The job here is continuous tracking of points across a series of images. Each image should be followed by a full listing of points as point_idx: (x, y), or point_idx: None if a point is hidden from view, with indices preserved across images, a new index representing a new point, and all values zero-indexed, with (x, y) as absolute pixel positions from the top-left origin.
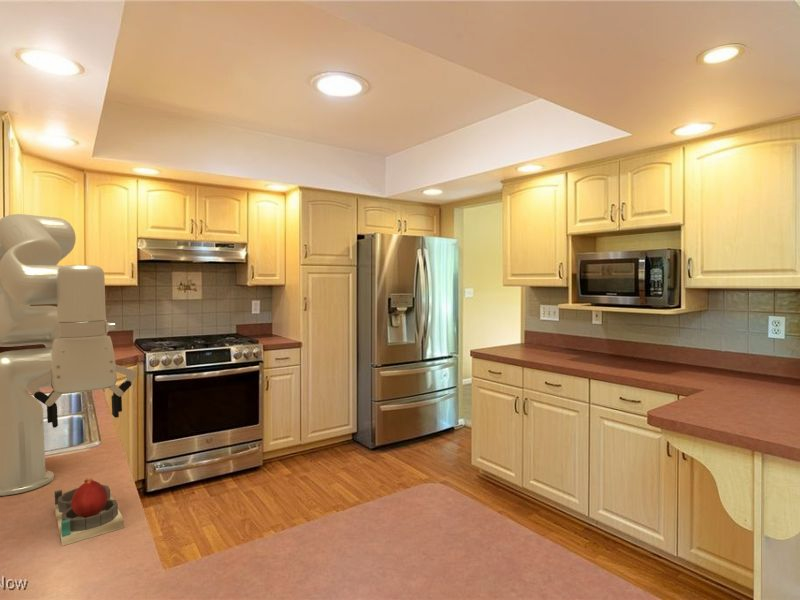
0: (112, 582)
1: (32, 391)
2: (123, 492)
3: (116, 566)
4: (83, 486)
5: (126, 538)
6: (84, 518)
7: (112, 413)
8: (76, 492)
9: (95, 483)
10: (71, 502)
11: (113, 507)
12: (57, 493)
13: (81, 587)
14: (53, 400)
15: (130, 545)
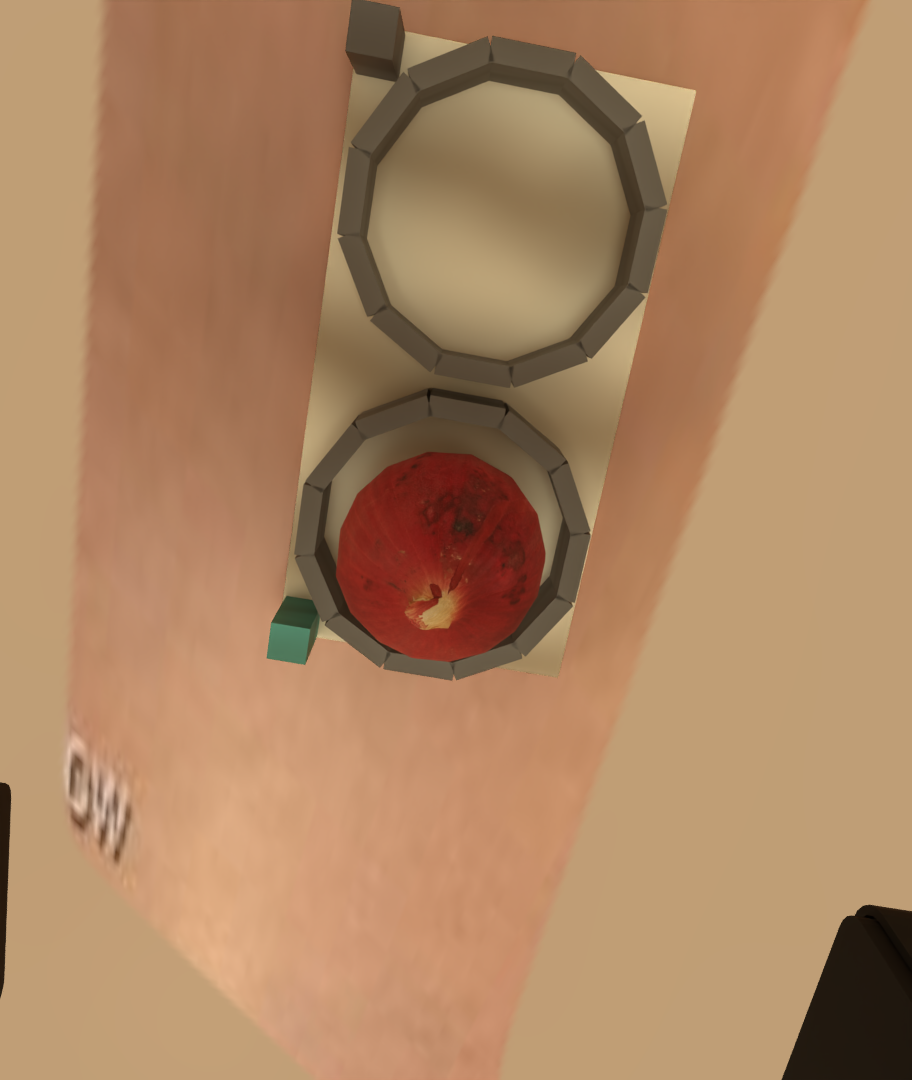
0: (354, 1040)
1: None
2: (777, 111)
3: (400, 956)
4: (397, 611)
5: (516, 772)
6: (380, 653)
7: (845, 966)
8: (357, 588)
9: (474, 620)
10: (338, 550)
11: (539, 634)
12: (362, 55)
13: (268, 994)
14: None
15: (501, 845)
